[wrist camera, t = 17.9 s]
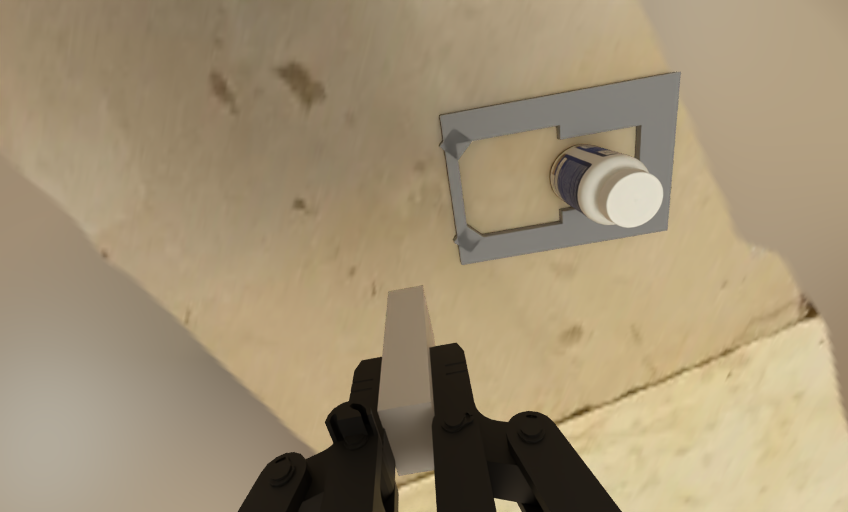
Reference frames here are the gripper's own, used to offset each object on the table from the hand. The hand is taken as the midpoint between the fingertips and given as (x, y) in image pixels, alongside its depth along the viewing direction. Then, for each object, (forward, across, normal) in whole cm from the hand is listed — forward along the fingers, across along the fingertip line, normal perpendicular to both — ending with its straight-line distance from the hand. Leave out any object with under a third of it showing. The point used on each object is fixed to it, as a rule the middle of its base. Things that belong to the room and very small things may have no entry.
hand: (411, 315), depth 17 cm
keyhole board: (+21, +14, -1) cm, 25 cm away
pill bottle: (+21, +15, -2) cm, 26 cm away
